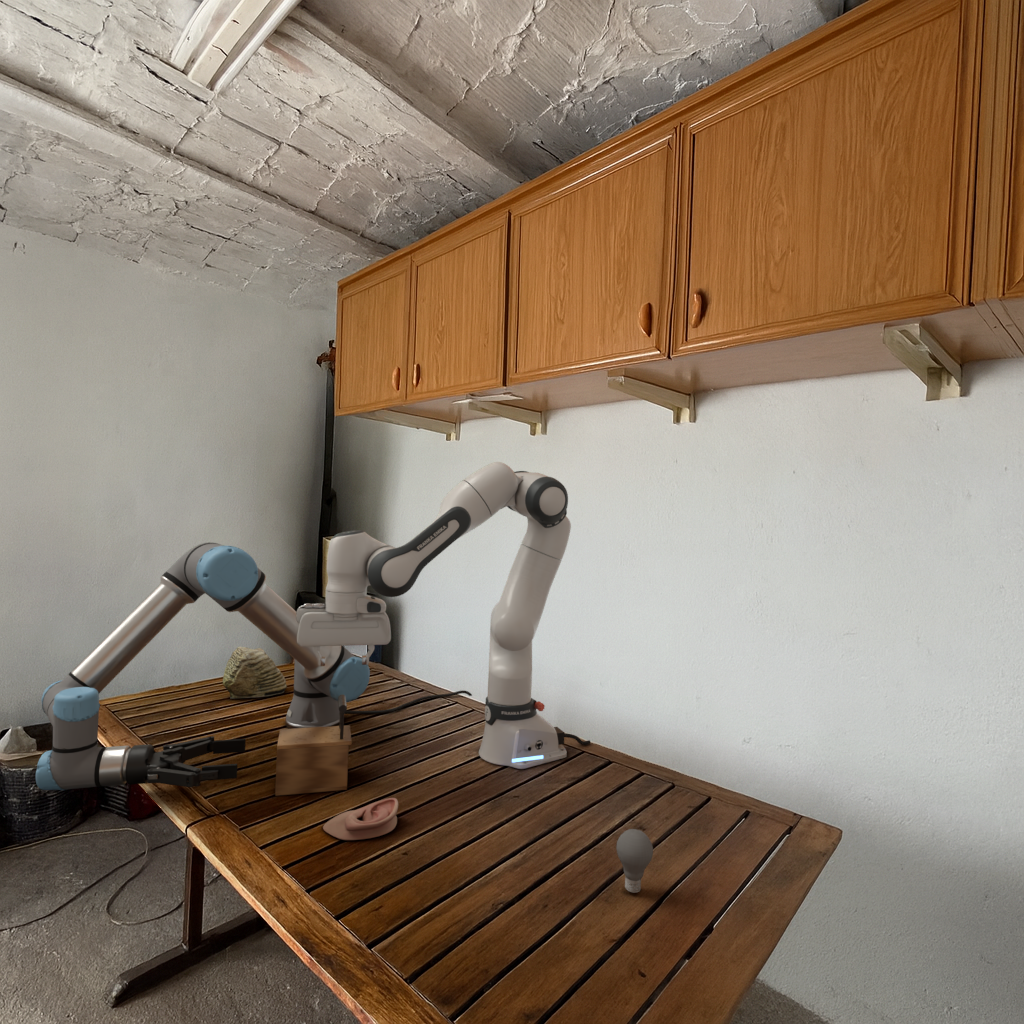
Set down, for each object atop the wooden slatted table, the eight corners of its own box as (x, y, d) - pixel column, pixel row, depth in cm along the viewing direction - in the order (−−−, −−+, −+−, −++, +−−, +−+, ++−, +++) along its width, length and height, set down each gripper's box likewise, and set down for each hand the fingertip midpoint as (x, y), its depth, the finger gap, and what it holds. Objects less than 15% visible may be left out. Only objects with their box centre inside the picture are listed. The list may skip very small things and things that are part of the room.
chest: (345, 771, 147) (347, 729, 147) (346, 789, 137) (348, 745, 137) (278, 776, 143) (280, 733, 142) (275, 795, 133) (277, 749, 133)
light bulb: (610, 879, 108) (613, 822, 108) (644, 879, 109) (647, 822, 109) (619, 902, 102) (622, 840, 102) (655, 901, 103) (658, 840, 103)
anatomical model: (315, 814, 118) (343, 787, 129) (314, 835, 118) (343, 807, 129) (382, 825, 115) (405, 796, 127) (381, 846, 116) (404, 816, 127)
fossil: (218, 695, 195) (220, 647, 195) (278, 685, 208) (279, 640, 207) (228, 703, 189) (230, 653, 188) (289, 692, 201) (290, 645, 201)
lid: (349, 728, 147) (351, 692, 147) (351, 744, 137) (352, 706, 137) (280, 732, 142) (281, 695, 142) (277, 749, 133) (278, 709, 133)
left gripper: (145, 758, 142) (247, 751, 148) (108, 812, 118) (232, 802, 124) (146, 725, 141) (248, 719, 147) (109, 772, 117) (233, 764, 123)
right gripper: (296, 605, 135) (293, 670, 135) (393, 605, 141) (390, 667, 141) (297, 601, 141) (295, 662, 141) (390, 600, 147) (387, 659, 147)
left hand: (241, 757), depth 135 cm, fingers open, 13 cm apart
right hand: (343, 664), depth 141 cm, fingers open, 8 cm apart
